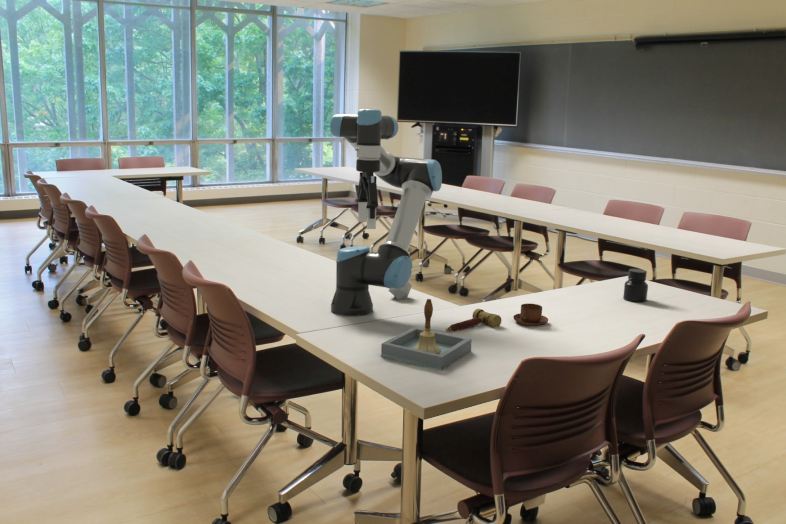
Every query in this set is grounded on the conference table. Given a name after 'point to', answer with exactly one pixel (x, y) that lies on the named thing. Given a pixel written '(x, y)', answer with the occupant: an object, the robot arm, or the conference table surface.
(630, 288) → the ink bottle
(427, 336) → the hand bell
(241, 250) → the conference table surface
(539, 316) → the cup and saucer
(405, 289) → the grey polyhedron block
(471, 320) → the gavel
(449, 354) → the box
